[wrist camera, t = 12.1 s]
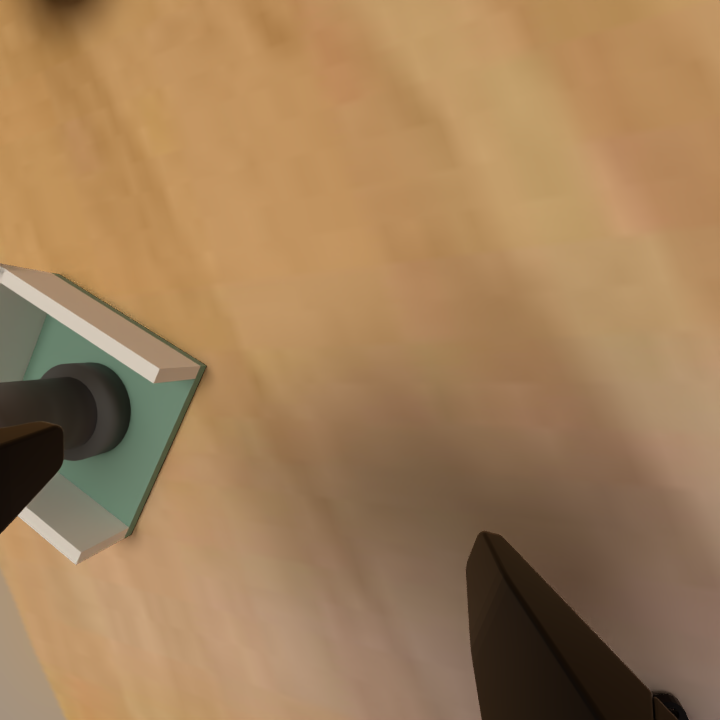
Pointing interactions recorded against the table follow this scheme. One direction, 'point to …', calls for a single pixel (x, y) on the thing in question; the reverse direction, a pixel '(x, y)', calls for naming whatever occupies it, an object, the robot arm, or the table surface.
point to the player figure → (72, 406)
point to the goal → (144, 387)
